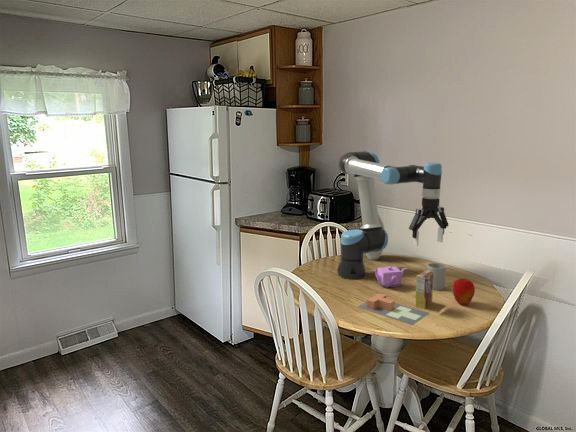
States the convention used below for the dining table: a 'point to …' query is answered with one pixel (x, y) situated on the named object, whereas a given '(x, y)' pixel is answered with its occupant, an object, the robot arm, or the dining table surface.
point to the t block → (380, 302)
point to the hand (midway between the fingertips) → (427, 243)
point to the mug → (437, 275)
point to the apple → (463, 291)
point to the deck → (399, 313)
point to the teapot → (389, 276)
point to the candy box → (424, 289)
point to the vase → (377, 254)
